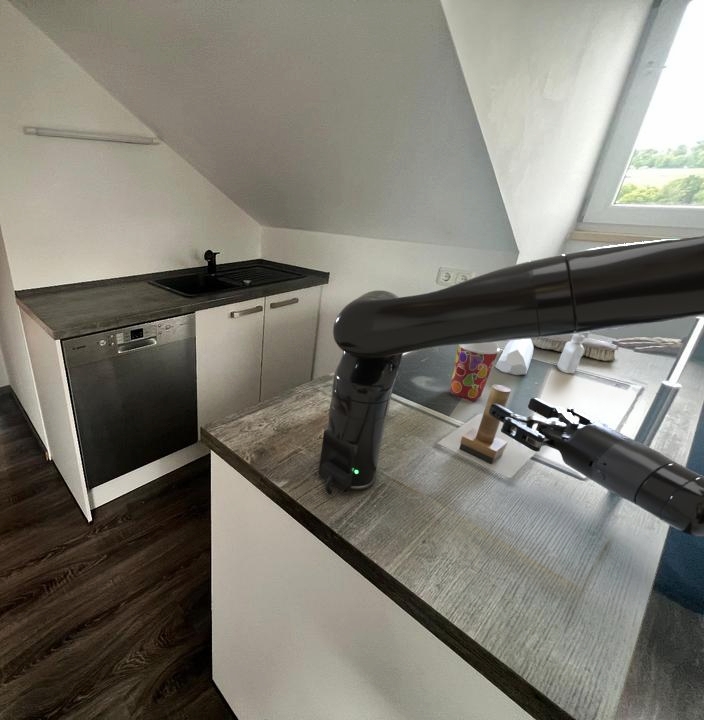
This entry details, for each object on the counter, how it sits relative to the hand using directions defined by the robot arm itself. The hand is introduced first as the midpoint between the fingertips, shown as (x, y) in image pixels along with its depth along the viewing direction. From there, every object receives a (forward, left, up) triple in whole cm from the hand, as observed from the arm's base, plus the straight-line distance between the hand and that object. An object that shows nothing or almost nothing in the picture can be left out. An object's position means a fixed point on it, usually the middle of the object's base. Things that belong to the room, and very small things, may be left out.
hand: (511, 405), depth 68 cm
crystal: (+59, +16, -13) cm, 63 cm away
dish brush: (+1, +2, -12) cm, 12 cm away
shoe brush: (+83, +10, -13) cm, 85 cm away
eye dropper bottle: (+65, +5, -13) cm, 67 cm away
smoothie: (+24, +15, -13) cm, 31 cm away
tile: (+7, +2, -13) cm, 15 cm away
